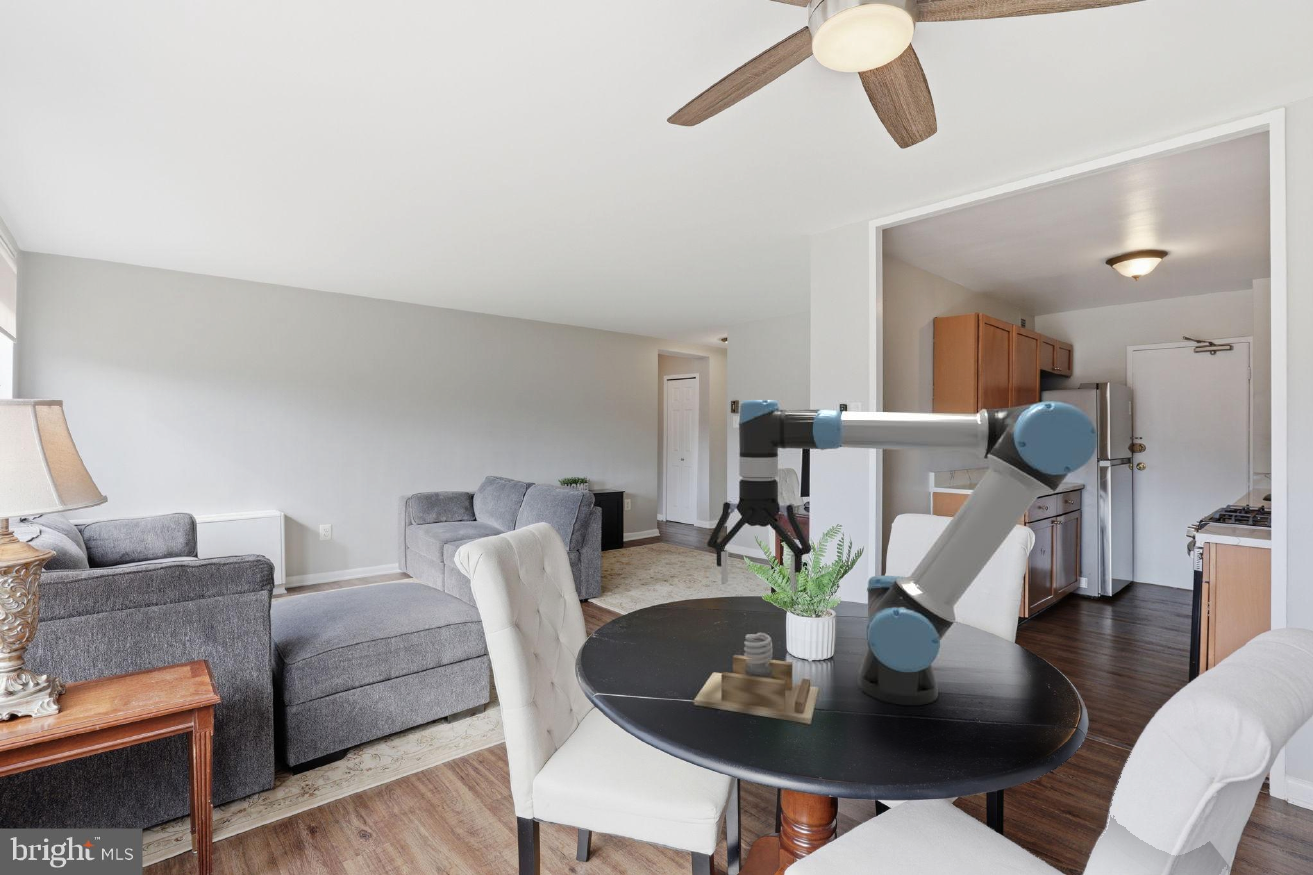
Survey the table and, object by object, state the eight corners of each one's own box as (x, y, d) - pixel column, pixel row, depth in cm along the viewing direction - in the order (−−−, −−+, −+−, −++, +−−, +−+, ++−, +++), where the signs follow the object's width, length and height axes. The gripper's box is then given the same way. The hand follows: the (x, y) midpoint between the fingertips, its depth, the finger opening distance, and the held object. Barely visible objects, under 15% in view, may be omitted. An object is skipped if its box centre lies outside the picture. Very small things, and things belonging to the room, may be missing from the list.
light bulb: (769, 687, 125) (769, 628, 125) (775, 699, 119) (775, 637, 119) (741, 687, 125) (741, 628, 125) (746, 699, 119) (746, 638, 119)
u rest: (818, 692, 125) (818, 662, 125) (810, 723, 112) (810, 691, 112) (713, 676, 133) (713, 649, 132) (694, 704, 119) (694, 674, 119)
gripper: (825, 478, 120) (825, 586, 121) (702, 475, 129) (702, 576, 129) (822, 482, 113) (821, 596, 114) (692, 478, 122) (692, 584, 122)
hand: (758, 585), depth 122 cm, fingers open, 13 cm apart
